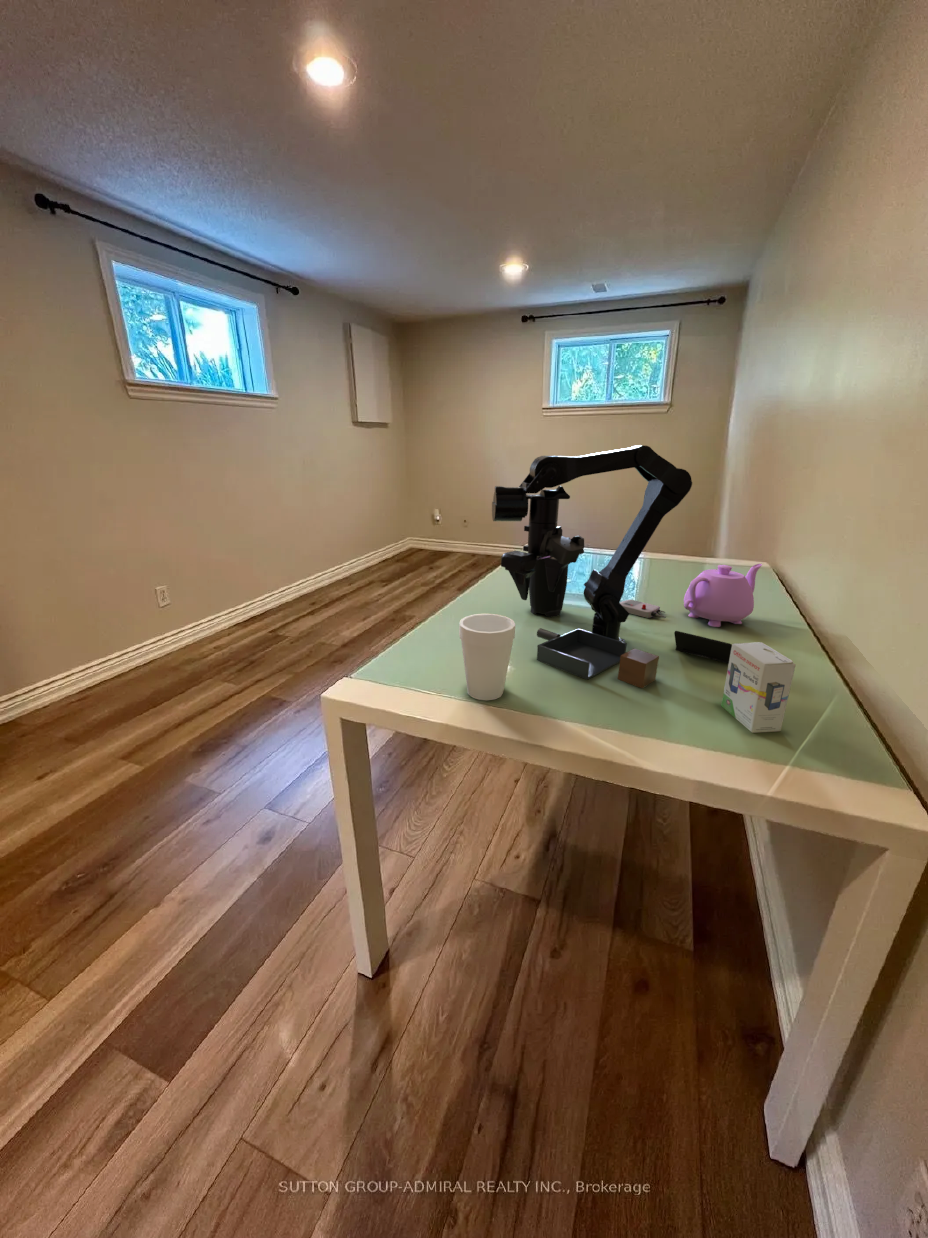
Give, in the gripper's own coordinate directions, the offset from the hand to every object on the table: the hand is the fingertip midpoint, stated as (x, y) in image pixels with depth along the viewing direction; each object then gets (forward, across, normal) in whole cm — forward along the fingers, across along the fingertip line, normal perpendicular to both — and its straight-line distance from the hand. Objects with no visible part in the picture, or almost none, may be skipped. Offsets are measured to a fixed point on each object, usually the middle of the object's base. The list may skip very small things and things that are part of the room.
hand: (538, 595), depth 104 cm
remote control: (+11, +37, -5) cm, 39 cm away
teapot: (+11, +47, -21) cm, 53 cm away
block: (+6, 0, -24) cm, 25 cm away
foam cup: (+11, -24, -8) cm, 28 cm away
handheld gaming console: (+11, +21, -28) cm, 37 cm away
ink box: (+11, +1, -43) cm, 44 cm away
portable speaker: (+11, +18, +11) cm, 24 cm away
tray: (+11, 0, -9) cm, 14 cm away
